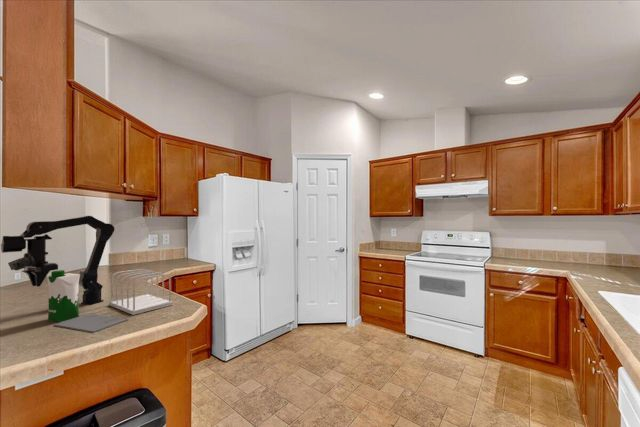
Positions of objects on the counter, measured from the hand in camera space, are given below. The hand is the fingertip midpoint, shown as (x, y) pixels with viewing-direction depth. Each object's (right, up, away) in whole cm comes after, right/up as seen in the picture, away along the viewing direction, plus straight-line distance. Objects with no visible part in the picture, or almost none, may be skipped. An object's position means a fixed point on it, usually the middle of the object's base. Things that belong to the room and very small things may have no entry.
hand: (36, 286), depth 125 cm
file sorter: (+38, -12, +12) cm, 42 cm away
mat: (+33, -12, -11) cm, 37 cm away
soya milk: (+17, -12, -6) cm, 22 cm away
